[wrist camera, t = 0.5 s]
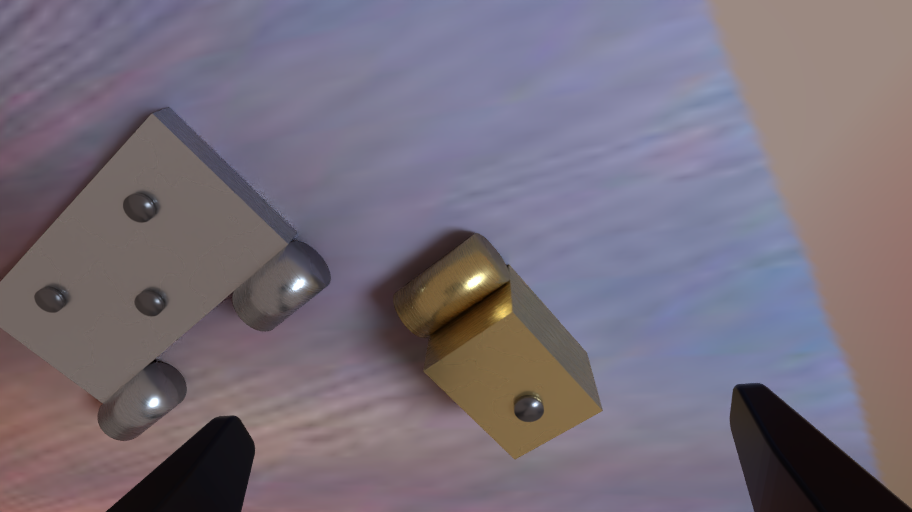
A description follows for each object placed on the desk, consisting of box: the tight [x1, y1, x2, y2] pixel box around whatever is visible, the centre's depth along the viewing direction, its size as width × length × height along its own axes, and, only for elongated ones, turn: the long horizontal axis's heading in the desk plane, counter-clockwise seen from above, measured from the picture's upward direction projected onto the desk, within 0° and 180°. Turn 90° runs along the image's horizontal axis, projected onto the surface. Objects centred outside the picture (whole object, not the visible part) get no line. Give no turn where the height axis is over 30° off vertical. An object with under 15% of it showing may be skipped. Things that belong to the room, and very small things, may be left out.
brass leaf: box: [393, 233, 603, 459], centre depth 23 cm, size 4×8×4 cm, turn 40°
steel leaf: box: [0, 107, 331, 441], centre depth 24 cm, size 14×9×2 cm
